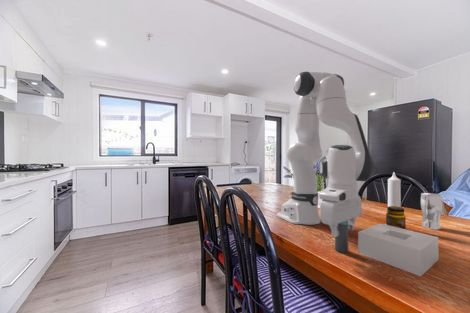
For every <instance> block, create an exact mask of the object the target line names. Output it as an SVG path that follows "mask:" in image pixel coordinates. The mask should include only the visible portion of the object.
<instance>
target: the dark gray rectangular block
mask: <svg viewBox="0 0 470 313" xmlns="http://www.w3.org/2000/svg"><path fill="white" fill-rule="evenodd" d="M337 230H338V231H339V236H337V237H334V250H335V251H336V252H337V253H339V254H348V253H349V230H348V220H346V221H344V222H341V223H338V226H337Z"/></svg>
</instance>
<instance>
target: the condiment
mask: <svg viewBox="0 0 470 313" xmlns="http://www.w3.org/2000/svg"><path fill="white" fill-rule="evenodd" d="M385 215H386V216H385V224H386V225H389V226H394V227H398V228H402V229H406V230H407V228H406V226H407V224H406V222H407V221H406V220H407V219H406V215H405V209H404V208H403V207H395V206H389V207H388V206H387V211H386V214H385Z"/></svg>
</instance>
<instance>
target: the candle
mask: <svg viewBox="0 0 470 313" xmlns="http://www.w3.org/2000/svg"><path fill="white" fill-rule="evenodd" d="M401 181H402V180H401V179H400V178H398V177H397V176H396V173H395V171H393V172H392V176H391V177H389V178H387V207H389V206H395V207H401V206H402V204H401V198H402V197H401V194H402V193H401V191H402V190H401V189H402V188H401V183H402V182H401ZM401 208H402V207H401ZM385 225H386V223H385Z"/></svg>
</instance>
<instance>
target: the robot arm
mask: <svg viewBox="0 0 470 313" xmlns="http://www.w3.org/2000/svg"><path fill="white" fill-rule="evenodd" d="M293 91H294V93H295V94H296V95H297V96H299V97H298V101H297V106H296V114H295V115H296V116H295V128H294V129H295V130H294V131H295V133H296V135H297V139H298V140H297V141H298V142H295V143H293V144H291V145H290V146H288V148H287V150H286V158H287V160H288V162H289V163H290V166H291V169H292V175H293V191H292V192H290V193H289V195H290V196H291V197H290V199H288V200H287V201H286V202H284V203H283V204H282V205H281V208H280V210H281V211H279V212H277V213H276V216H277V217H278V218H281V219H282V220H285V221H287V222H289V223H290V224H293V225H308V226H312V225H318V224H320V223H322V224H323V225H328V226H329V229H330V230H331V236H332V237H334V238H335V237H337V236H339V231H338V230H337V226H338V223H341V222H344V221H346V220H348V231H354V230H355V223H356V221H357V217H360V216H362V214H363V205H362V199H361V196H360V195H359V192H358V182H367V181H368V180H370V179H371V178H372V177H373V176H374V175H375V173H376V165H375V162H374V160H373V157H372V155H371V152H370V150H369V146H368V143H367V140H366V136H365V134H364V130H363V127H362V123H361V121H360V118H359V117H358V115H357V114H355V113H354V112H352V111H351V109H350V108H349V106H348V104H347V95H346V90H345V80H344V77H343V76H341V75H340V74H337V73H329V72H324V71H320V72H319V71H301V72H299V73H298V74H297V75H296V77H295V79H294V82H293ZM320 121H321V122H322V124H325V125H326V126H329V127H332V128H335V129H338V130H339V129H340V130H341V131H344V132H345V133H347V135H348V136H349V139H350V142H351V145H348V144H334V145H331V146H329V148H328V153H327V155H324V156H323V151H322V148H321V140H320ZM318 162H319V175H320V176H321V177H323V178H324V179H326V180H328V181H327V186H326V188H324V189H323V190H322V191H321V192H320V193H318V176H317V174H316V171H315V168H314V164H317V163H318ZM319 199H320V200H321V201H320V203H319ZM318 204H319V207H318Z"/></svg>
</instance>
